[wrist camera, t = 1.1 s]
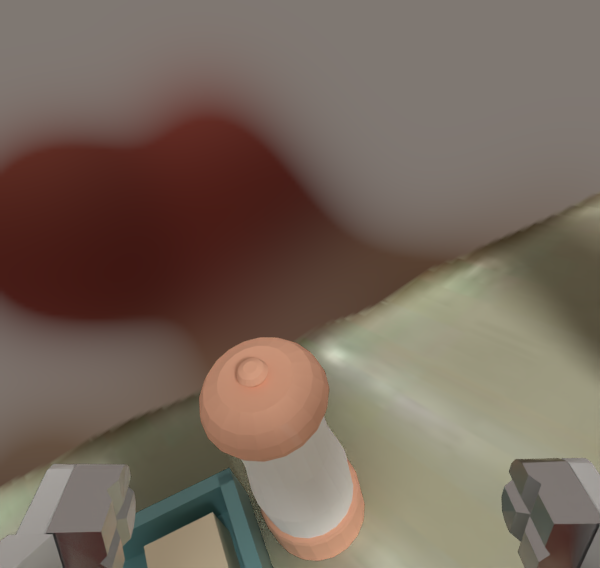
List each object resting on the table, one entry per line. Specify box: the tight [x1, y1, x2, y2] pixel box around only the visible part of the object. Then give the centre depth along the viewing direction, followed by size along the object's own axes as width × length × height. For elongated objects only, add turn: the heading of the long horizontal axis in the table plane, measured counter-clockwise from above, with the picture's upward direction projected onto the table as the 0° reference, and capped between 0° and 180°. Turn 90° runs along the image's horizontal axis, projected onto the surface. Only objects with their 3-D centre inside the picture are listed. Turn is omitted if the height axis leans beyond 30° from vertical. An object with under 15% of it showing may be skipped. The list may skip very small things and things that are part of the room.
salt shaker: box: [199, 337, 365, 561], centre depth 33 cm, size 7×7×19 cm
